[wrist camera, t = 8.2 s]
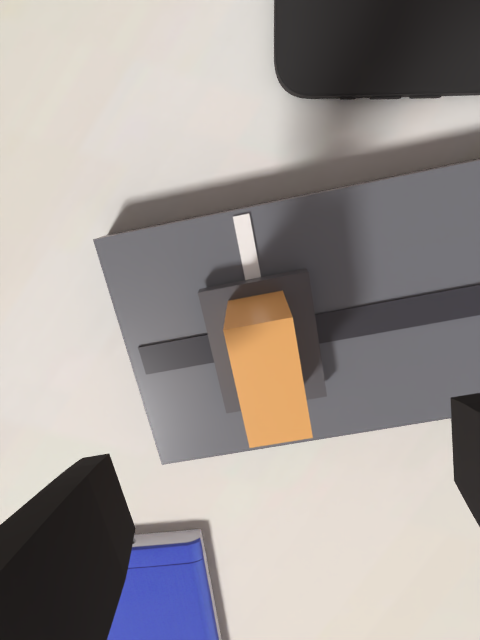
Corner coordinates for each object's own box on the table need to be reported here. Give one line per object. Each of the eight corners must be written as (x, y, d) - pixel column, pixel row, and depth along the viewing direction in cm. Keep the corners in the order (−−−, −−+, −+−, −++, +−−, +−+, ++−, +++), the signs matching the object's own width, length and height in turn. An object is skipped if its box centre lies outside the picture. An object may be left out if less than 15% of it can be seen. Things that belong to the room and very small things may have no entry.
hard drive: (230, 709, 23) (199, 545, 20) (93, 719, 24) (38, 558, 20) (231, 678, 25) (202, 520, 21) (102, 687, 25) (52, 533, 22)
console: (627, 128, 15) (671, 120, 13) (606, 372, 18) (640, 388, 16) (106, 235, 16) (92, 239, 15) (168, 444, 19) (161, 466, 18)
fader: (306, 268, 15) (326, 293, 11) (324, 389, 16) (346, 446, 13) (199, 288, 15) (184, 320, 11) (227, 405, 16) (221, 466, 13)
